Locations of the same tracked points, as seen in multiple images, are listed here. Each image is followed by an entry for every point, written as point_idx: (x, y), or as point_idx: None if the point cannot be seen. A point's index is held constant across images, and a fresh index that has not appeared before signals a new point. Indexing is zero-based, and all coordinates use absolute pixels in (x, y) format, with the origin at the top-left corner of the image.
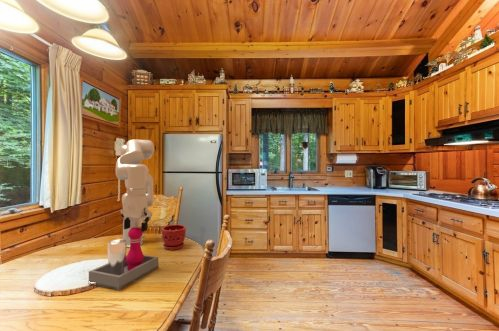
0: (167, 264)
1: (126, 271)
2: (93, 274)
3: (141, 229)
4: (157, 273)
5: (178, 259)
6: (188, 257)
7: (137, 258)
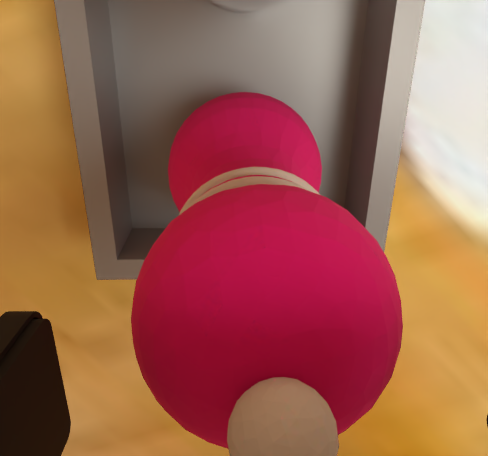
0: (105, 302)
1: (258, 77)
2: None
3: (8, 339)
4: (47, 162)
5: (101, 383)
6: None
7: (178, 139)
